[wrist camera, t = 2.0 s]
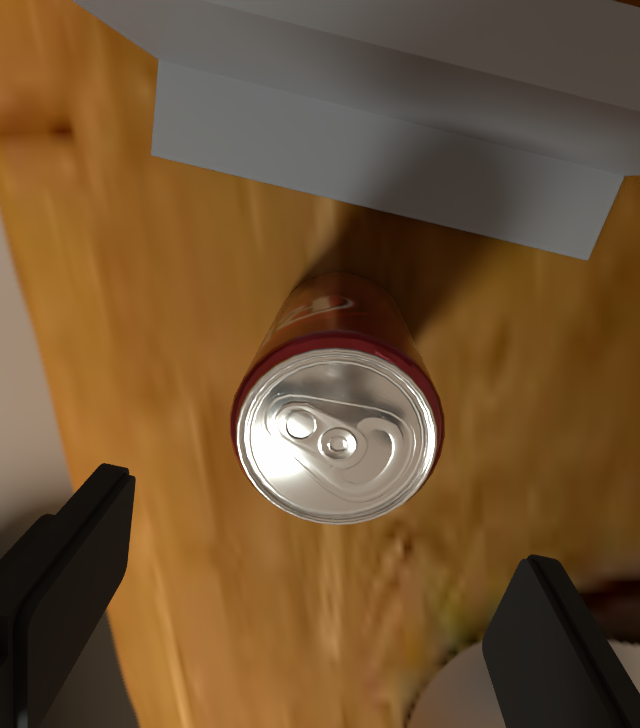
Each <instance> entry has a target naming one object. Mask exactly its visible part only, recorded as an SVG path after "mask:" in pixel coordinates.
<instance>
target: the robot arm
mask: <svg viewBox="0 0 640 728" xmlns="http://www.w3.org/2000/svg"><path fill="white" fill-rule="evenodd" d="M135 481H136V479H135V477H134V476H131V475H129V470H128V468H125V467H120V466H115V465H111V464H106V463H103V464H101V465H100V466H99V467H98V468H97V469H96V470H95V471H94V472H93V474H92V475H91V476H90V477H89V478H88V479H87V480H86V481H85V483H84V484H83V485H82V486H81V487H80V488H79V489H78V490H77V492H76V493H75V494H74V495H73V496H72V497H71V498H70V499H69V501H68V502H67V503H66V504H65V505H64V506H63V507H62V508H61V510H60V511H59V512H58V513H57V514H56V515H51V514H45V515H43V516H41V517H40V518H39V519H38V520H37V521H36V522H35V523H34V524H33V525H32V526H31V527H30V528H29V530H27V531H26V533H25V534H24V535H23V536H22V537H21V538H20V539H19V540H18V541H17V542H16V543H15V544H14V545H13V546H12V548H11V549H10V550H9V551H8V552H7V553H6V554H5V555H4V556H3V557H2V558H1V559H0V728H39V726H40V725H41V723H42V721H43V719H44V718H45V716H46V714H47V712H48V710H49V708H50V707H51V705H52V703H53V702H54V700H55V698H56V696H57V694H58V693H59V691H60V689H61V687H62V686H63V684H64V682H65V680H66V679H67V677H68V675H69V673H70V672H71V670H72V668H73V666H74V664H75V663H76V661H77V659H78V657H79V656H80V654H81V652H82V650H83V648H84V647H85V645H86V643H87V641H88V640H89V638H90V636H91V634H92V633H93V631H94V629H95V627H96V625H97V624H98V622H99V620H100V618H101V617H102V615H103V613H104V611H105V610H106V608H107V606H108V604H109V602H110V601H111V599H112V597H113V595H114V594H115V592H116V590H117V588H118V587H119V585H120V583H121V581H122V579H123V577H124V574H125V571H126V567H127V561H128V551H129V541H130V531H131V521H132V512H133V502H134V492H135ZM482 649H483V655H484V659H485V662H486V665H487V668H488V671H489V674H490V678H491V681H492V684H493V687H494V690H495V693H496V696H497V700H498V703H499V706H500V709H501V713H502V716H503V719H504V722H505V725H506V728H640V693H639V692H638V690H637V689H636V687H635V685H634V684H633V682H632V680H631V679H630V677H629V675H628V674H627V672H626V670H625V669H624V667H623V665H622V664H621V662H620V661H619V659H618V657H617V656H616V654H615V652H614V651H613V649H612V647H611V646H610V644H609V642H608V641H607V639H606V637H605V636H604V634H603V632H602V631H601V629H600V627H599V626H598V624H597V623H596V621H595V619H594V618H593V616H592V614H591V613H590V611H589V609H588V608H587V606H586V604H585V603H584V601H583V599H582V598H581V596H580V595H579V593H578V591H577V590H576V588H575V586H574V585H573V583H572V581H571V580H570V578H569V576H568V575H567V573H566V571H565V570H564V568H563V566H562V565H561V563H560V562H559V561H558V560H556V559H553V558H548V557H543V556H539V555H530V556H528V558H527V559H523V560H521V561H520V563H519V565H518V567H517V569H516V571H515V573H514V575H513V577H512V579H511V581H510V583H509V585H508V587H507V590H506V592H505V594H504V596H503V598H502V600H501V602H500V604H499V606H498V608H497V610H496V612H495V614H494V616H493V619H492V621H491V623H490V625H489V627H488V629H487V631H486V633H485V635H484V638H483V642H482Z"/></svg>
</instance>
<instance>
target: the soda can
mask: <svg viewBox="0 0 640 728" xmlns="http://www.w3.org/2000/svg"><path fill="white" fill-rule="evenodd" d="M230 437H231V441H232V446H233V451H234V454H235V456H236V459H237V461H238V463H239V466H240V468H241V470H242V472H243V473H244V474H245V476H246V477H247V479H248V480H249V482H250V483H251V484H252V486H253V487H254V488H255V489H256V490H258V491H259V492H260V493H261V494H262V495H263V496H264V497H265V498H266V499H267V500H268V501H270V502H271V503H273V504H274V505H276V506H277V507H279V508H280V509H282V510H283V511H285V512H287V513H290V514H292V515H294V516H296V517H298V518H301V519H305V520H308V521H312V522H316V523H323V524H332V525H342V524H355V523H360V522H364V521H369V520H373V519H375V518H378V517H380V516H382V515H385V514H387V513H389V512H391V511H393V510H394V509H396V508H397V507H399V506H401V505H402V504H404V503H405V502H407V501H408V500H409V499H410V498H412V497H413V496H414V495H415V494H416V493H417V492H418V491H419V490H420V489H421V488H422V487H423V486H424V484H425V483H426V481H427V480H428V479H429V477H430V476H431V475H432V473H433V471H434V469H435V466H436V464H437V462H438V460H439V458H440V455H441V451H442V446H443V442H444V437H445V422H444V413H443V409H442V405H441V401H440V397H439V395H438V393H437V391H436V389H435V386H434V384H433V382H432V380H431V377H430V375H429V373H428V371H427V369H426V366H425V364H424V362H423V360H422V358H421V355H420V353H419V351H418V349H417V347H416V344H415V342H414V340H413V338H412V335H411V333H410V331H409V329H408V327H407V324H406V322H405V320H404V318H403V316H402V313H401V311H400V309H399V307H398V305H397V303H396V302H395V301H394V299H393V298H392V297H391V296H390V294H389V293H388V292H387V291H386V290H385V289H383V288H382V287H381V286H380V285H378V284H377V283H375V282H373V281H371V280H370V279H368V278H366V277H362V276H359V275H356V274H352V273H341V272H338V273H329V274H324V275H321V276H317V277H314V278H312V279H310V280H308V281H306V282H305V283H303V284H301V285H300V286H299V287H298V288H296V289H295V290H294V291H293V292H292V293H291V294H290V295H289V296H288V298H287V299H286V300H285V301H284V303H283V305H282V307H281V308H280V310H279V312H278V314H277V316H276V318H275V320H274V322H273V323H272V325H271V327H270V329H269V331H268V333H267V335H266V337H265V338H264V340H263V342H262V344H261V346H260V348H259V350H258V352H257V353H256V355H255V357H254V359H253V361H252V363H251V365H250V367H249V368H248V370H247V372H246V374H245V376H244V378H243V380H242V382H241V384H240V386H239V388H238V390H237V392H236V394H235V396H234V400H233V404H232V408H231V412H230Z"/></svg>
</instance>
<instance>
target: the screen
mask: <svg viewBox="0 0 640 728" xmlns="http://www.w3.org/2000/svg"><path fill="white" fill-rule="evenodd" d="M72 1H74V2H75V3H77V4H78V5H79V6H81V7H82V8H84V9H85V10H87V11H88V12H90V13H91V14H93V15H94V16H95V17H97V18H98V19H100V20H101V21H103V22H104V23H106V24H107V25H109V26H110V27H112V28H113V29H114V30H116V31H117V32H119V33H120V34H122V35H123V36H125V37H126V38H128V39H129V40H130V41H132V42H133V43H135V44H136V45H138V46H139V47H141V48H142V49H144V50H145V51H146V52H148V53H149V54H151V55H152V56H154V57H155V58H157V59H158V60H159V62H158V74H157V87H156V99H155V111H154V124H153V136H152V148H151V155H152V156H156V157H161V158H165V159H169V160H173V161H177V162H181V163H185V164H190V165H194V166H198V167H202V168H206V169H210V170H214V171H219V172H223V173H227V174H231V175H235V176H239V177H243V178H248V179H252V180H256V181H260V182H264V183H268V184H272V185H277V186H281V187H285V188H289V189H293V190H297V191H301V192H306V193H310V194H314V195H318V196H322V197H326V198H330V199H335V200H339V201H343V202H347V203H351V204H355V205H359V206H364V207H368V208H372V209H376V210H380V211H384V212H388V213H393V214H397V215H401V216H405V217H409V218H413V219H417V220H422V221H426V222H430V223H434V224H438V225H442V226H446V227H451V228H455V229H459V230H463V231H467V232H471V233H475V234H480V235H484V236H488V237H492V238H496V239H500V240H504V241H509V242H513V243H517V244H521V245H525V246H529V247H533V248H538V249H542V250H546V251H550V252H554V253H558V254H562V255H567V256H571V257H575V258H579V259H583V260H587V261H588V259H589V257H590V254H591V252H592V250H593V247H594V245H595V243H596V241H597V238H598V236H599V234H600V231H601V229H602V227H603V224H604V222H605V220H606V218H607V215H608V213H609V211H610V208H611V206H612V204H613V202H614V199H615V197H616V195H617V192H618V190H619V188H620V185H621V183H622V181H623V179H624V176H630V175H640V7H636V6H632V5H628V4H625V3H621V2H617V1H613V0H72Z"/></svg>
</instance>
